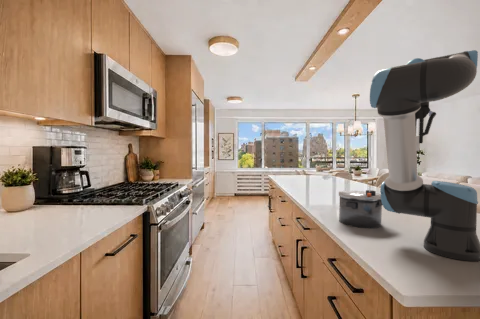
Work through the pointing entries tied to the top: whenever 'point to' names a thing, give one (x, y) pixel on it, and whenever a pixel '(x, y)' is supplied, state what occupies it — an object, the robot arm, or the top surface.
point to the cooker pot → (360, 213)
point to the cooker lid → (361, 195)
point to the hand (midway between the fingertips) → (417, 150)
